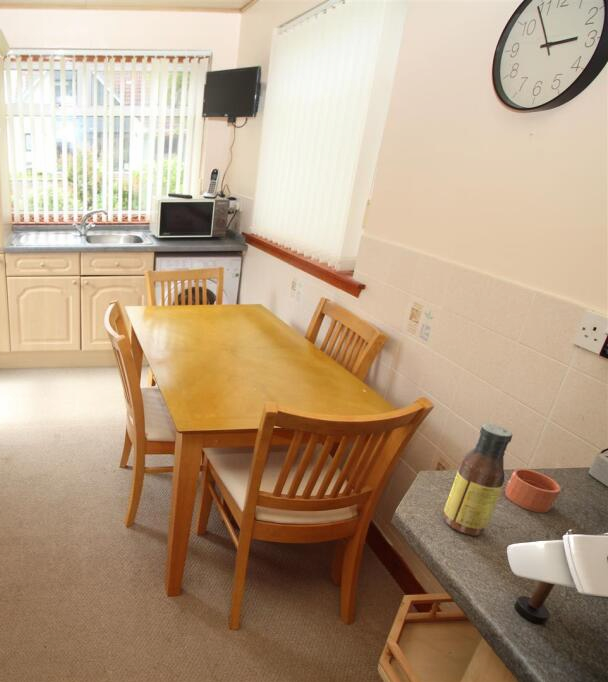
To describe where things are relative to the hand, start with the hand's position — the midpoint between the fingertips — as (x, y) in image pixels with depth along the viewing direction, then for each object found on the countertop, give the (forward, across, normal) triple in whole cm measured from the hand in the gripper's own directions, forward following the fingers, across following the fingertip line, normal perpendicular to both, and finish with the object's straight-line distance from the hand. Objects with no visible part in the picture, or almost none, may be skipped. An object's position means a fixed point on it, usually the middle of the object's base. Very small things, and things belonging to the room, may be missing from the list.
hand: (552, 564), depth 66 cm
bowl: (+25, -19, -12) cm, 33 cm away
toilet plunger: (+6, 0, +7) cm, 9 cm away
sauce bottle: (+19, -1, -6) cm, 20 cm away
